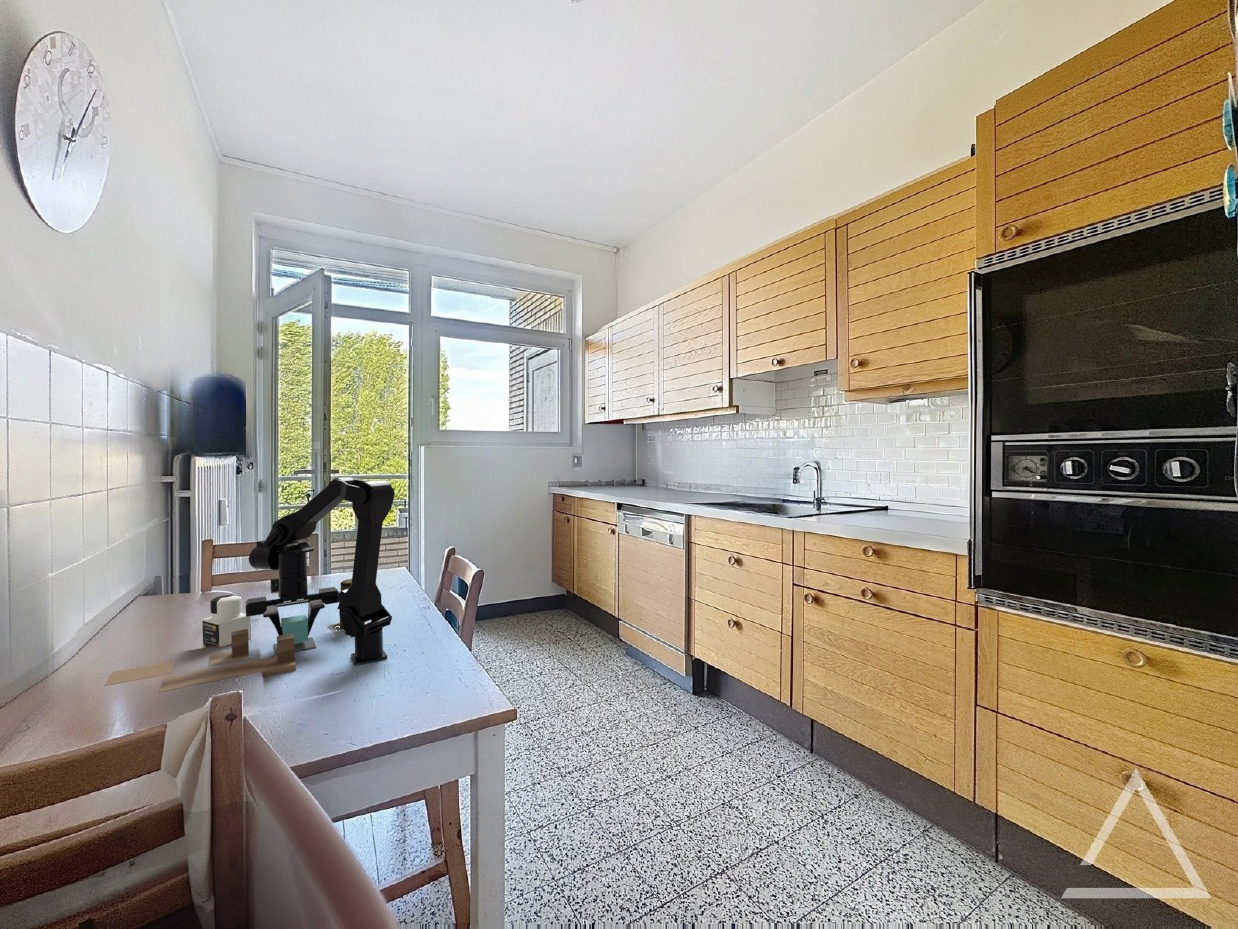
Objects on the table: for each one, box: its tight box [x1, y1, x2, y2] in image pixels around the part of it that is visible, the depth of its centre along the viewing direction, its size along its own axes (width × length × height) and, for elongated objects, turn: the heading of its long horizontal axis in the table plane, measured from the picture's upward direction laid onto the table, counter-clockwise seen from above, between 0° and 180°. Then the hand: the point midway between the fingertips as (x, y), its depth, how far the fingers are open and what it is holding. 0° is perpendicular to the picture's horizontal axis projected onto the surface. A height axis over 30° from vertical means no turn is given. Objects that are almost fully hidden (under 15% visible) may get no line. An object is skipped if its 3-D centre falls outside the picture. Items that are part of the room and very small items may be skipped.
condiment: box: [327, 578, 367, 634], centre depth 143 cm, size 7×8×12 cm
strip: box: [159, 634, 297, 693], centre depth 111 cm, size 8×22×6 cm, turn 125°
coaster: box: [273, 636, 317, 656], centre depth 128 cm, size 8×8×1 cm
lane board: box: [104, 660, 176, 687], centre depth 108 cm, size 21×21×2 cm
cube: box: [280, 614, 309, 643], centre depth 128 cm, size 5×5×5 cm
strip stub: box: [208, 629, 250, 667], centre depth 119 cm, size 8×7×6 cm
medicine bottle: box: [201, 594, 252, 649], centre depth 129 cm, size 7×7×12 cm
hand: (294, 637), depth 128 cm, fingers closed on cube, 5 cm apart
